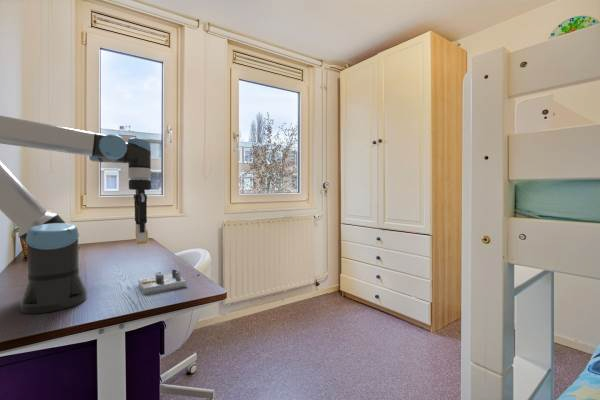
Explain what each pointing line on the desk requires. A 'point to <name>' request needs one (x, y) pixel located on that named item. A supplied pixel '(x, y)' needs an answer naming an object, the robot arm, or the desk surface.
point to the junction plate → (162, 282)
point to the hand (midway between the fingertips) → (140, 240)
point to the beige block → (141, 241)
